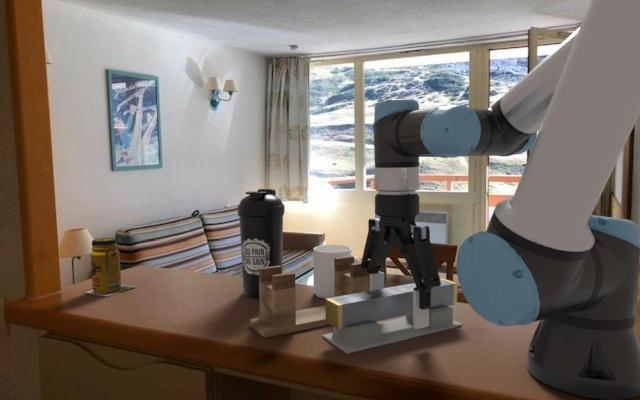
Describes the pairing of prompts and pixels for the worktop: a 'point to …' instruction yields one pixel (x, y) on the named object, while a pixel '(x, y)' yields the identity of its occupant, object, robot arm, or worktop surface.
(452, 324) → the rest
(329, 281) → the mug
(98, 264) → the condiment
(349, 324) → the rail
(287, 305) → the rack
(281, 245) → the water bottle
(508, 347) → the worktop surface
